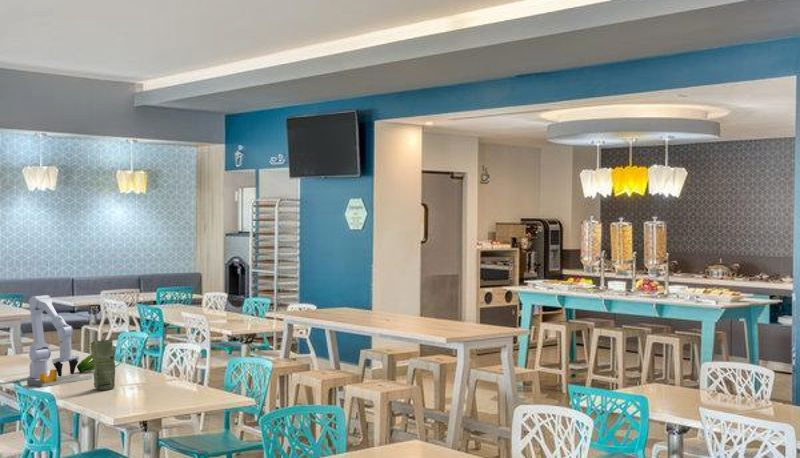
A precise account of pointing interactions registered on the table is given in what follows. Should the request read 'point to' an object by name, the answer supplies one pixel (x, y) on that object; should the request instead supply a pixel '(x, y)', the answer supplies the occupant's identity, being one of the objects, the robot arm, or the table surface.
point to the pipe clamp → (50, 378)
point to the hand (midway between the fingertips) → (65, 375)
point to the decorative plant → (89, 364)
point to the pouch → (103, 364)
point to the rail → (40, 384)
